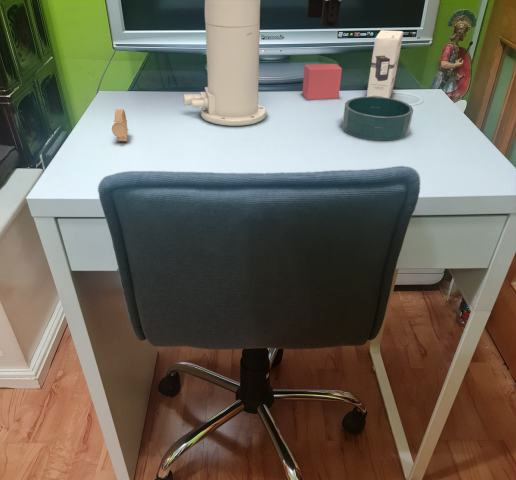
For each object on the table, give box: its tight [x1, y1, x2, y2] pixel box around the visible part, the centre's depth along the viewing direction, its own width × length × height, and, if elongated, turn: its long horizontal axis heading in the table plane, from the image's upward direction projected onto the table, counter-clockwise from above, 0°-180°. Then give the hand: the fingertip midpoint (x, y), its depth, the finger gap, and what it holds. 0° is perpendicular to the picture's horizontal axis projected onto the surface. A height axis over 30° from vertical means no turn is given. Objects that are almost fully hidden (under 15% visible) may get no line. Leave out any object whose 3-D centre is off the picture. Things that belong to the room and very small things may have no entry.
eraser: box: [301, 63, 343, 101], centre depth 108 cm, size 7×4×6 cm, turn 102°
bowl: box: [341, 96, 414, 142], centre depth 94 cm, size 12×12×4 cm
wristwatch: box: [111, 108, 129, 142], centre depth 86 cm, size 3×5×5 cm, turn 4°
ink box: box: [366, 29, 404, 98], centre depth 107 cm, size 8×5×12 cm, turn 162°
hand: (321, 21), depth 100 cm, fingers open, 9 cm apart
